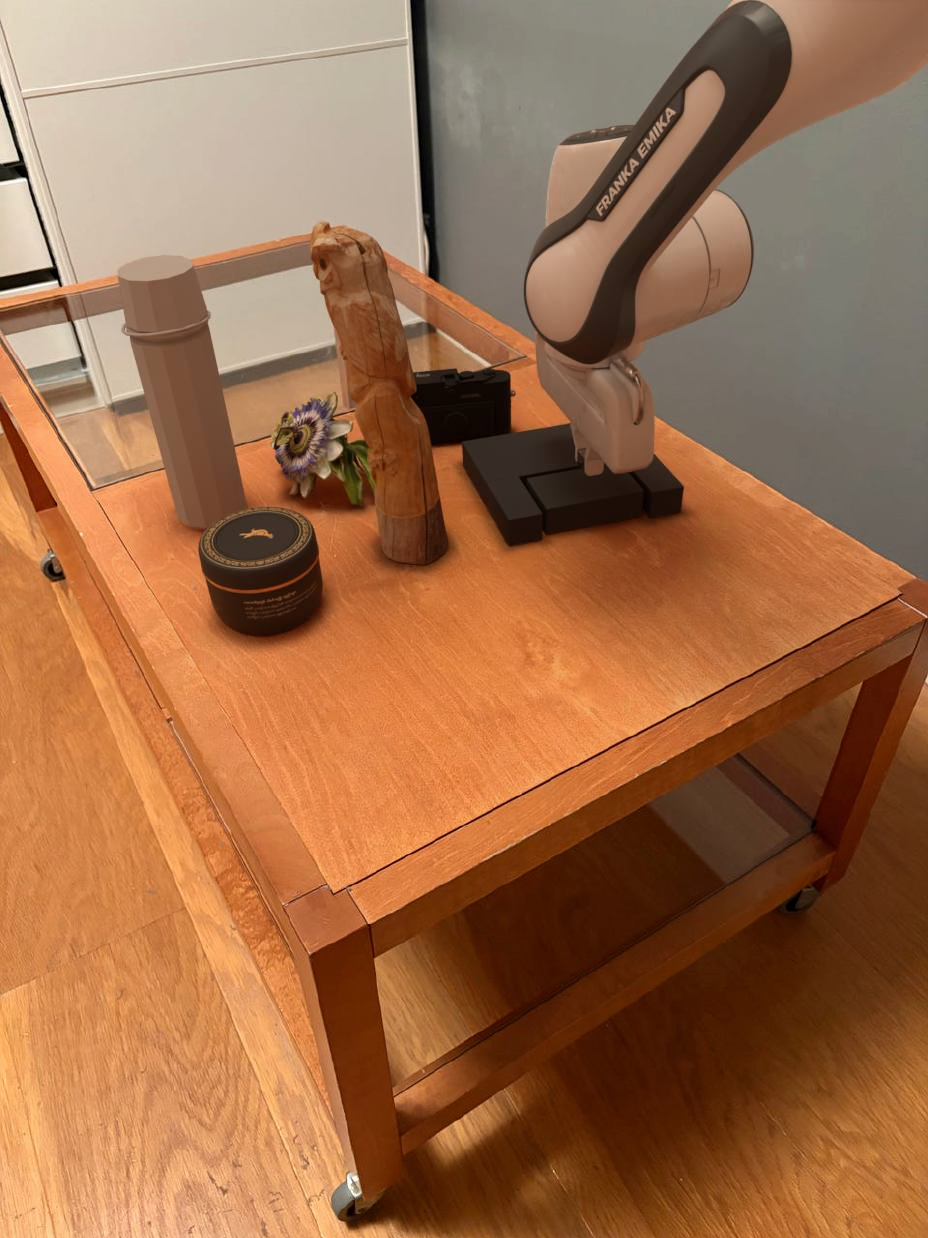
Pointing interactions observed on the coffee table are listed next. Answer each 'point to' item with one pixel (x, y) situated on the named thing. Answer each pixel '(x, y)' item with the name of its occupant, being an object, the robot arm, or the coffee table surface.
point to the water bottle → (182, 386)
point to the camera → (464, 404)
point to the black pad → (585, 499)
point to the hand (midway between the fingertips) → (589, 468)
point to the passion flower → (320, 449)
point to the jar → (262, 570)
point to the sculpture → (382, 391)
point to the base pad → (541, 452)
